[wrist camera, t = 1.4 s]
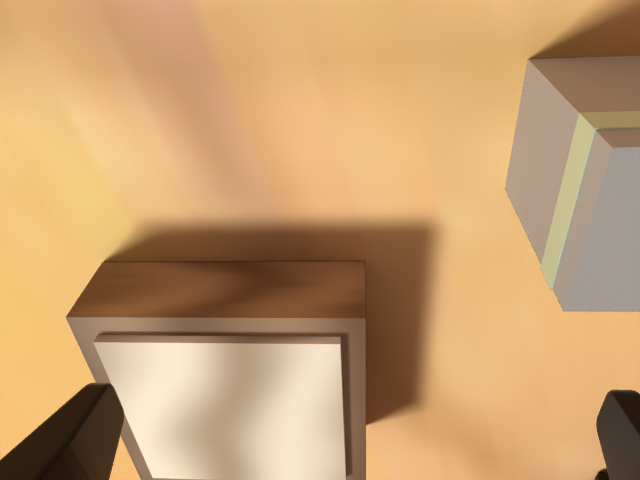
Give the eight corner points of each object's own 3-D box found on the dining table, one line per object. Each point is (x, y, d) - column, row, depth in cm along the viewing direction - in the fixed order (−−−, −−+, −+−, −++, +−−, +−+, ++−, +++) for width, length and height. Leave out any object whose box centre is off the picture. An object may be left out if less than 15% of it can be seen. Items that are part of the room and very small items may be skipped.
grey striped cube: (685, 51, 17) (855, 140, 11) (638, 187, 20) (753, 313, 14) (526, 57, 17) (611, 146, 11) (503, 189, 20) (560, 313, 14)
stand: (364, 261, 22) (365, 326, 19) (365, 426, 29) (365, 494, 26) (102, 262, 23) (61, 324, 20) (162, 422, 30) (138, 487, 27)
